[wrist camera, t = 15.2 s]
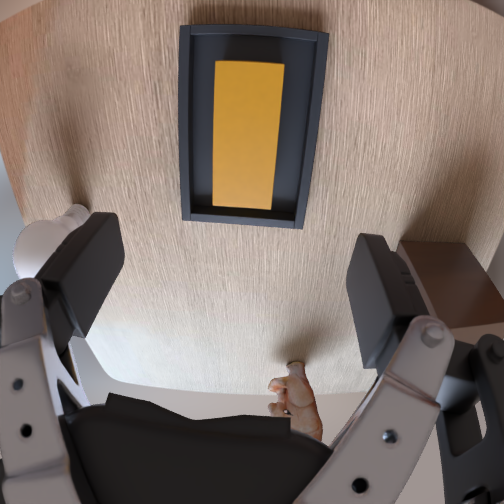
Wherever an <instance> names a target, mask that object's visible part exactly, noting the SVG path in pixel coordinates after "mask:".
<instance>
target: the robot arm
mask: <svg viewBox="0 0 504 504" xmlns="http://www.w3.org/2000/svg"><path fill="white" fill-rule="evenodd" d="M124 258H125V252H124V246H123V241H122V236H121V231H120V226H119V221H118V217H117V215H116V214H115V213H110V212H94V213H93V214H92V215H91V216H90V217H89V218H88V219H87V220H86V222H85V223H84V224H83V225H81V226H79V227H78V228H76V229H75V230H73V231H72V232H70V233H69V234H68V235H67V237H66V238H65V239H64V240H63V241H62V244H60V245H59V246H58V247H57V249H56V250H55V252H53V253H52V255H51V256H50V257H49V258H48V260H47V261H46V262H45V264H44V265H43V266H42V267H41V269H40V270H39V271H38V273H37V274H36V275H35V277H34V278H31V277H29V278H23V279H20V280H18V281H16V282H14V283H13V284H11V285H10V286H9V287H8V288H7V289H6V291H5V292H4V294H3V295H0V451H1V455H2V459H0V504H394V503H395V502H396V500H397V498H398V497H399V495H400V493H401V492H402V490H403V488H404V486H405V485H406V483H407V481H408V479H409V477H410V475H411V474H412V472H413V470H414V468H415V466H416V464H417V462H418V460H419V458H420V456H421V454H422V451H423V449H424V447H425V445H426V443H427V441H428V439H429V436H430V434H431V432H432V430H433V427H434V425H435V424H436V430H437V436H438V442H439V449H440V456H441V464H442V473H443V483H444V495H445V504H504V340H502V339H501V338H500V337H498V336H496V335H493V334H485V335H483V336H481V338H480V339H479V340H478V341H477V343H476V344H475V345H473V344H470V343H466V342H462V341H459V340H455V339H454V336H453V333H452V331H451V330H450V328H449V327H448V326H447V325H446V324H445V323H444V322H443V321H441V320H440V319H438V318H436V317H433V316H430V314H429V312H428V309H427V307H426V305H425V302H424V300H423V298H422V296H421V293H420V291H419V289H418V287H417V285H415V280H414V278H413V276H412V275H411V272H410V270H409V268H408V266H407V264H406V262H405V261H404V260H403V259H402V258H401V257H400V256H399V255H398V254H397V253H396V252H393V251H390V249H389V247H388V245H387V243H386V240H385V238H384V237H383V236H382V235H375V234H366V233H360V234H359V236H358V238H357V241H356V244H355V248H354V251H353V254H352V258H351V261H350V264H349V268H348V271H347V277H346V288H347V292H348V297H349V301H350V305H351V310H352V314H353V318H354V323H355V328H356V332H357V337H358V342H359V347H360V352H361V357H362V362H363V368H364V369H372V368H376V369H377V374H378V376H377V377H376V379H375V380H374V382H373V383H372V385H371V387H370V388H369V390H368V391H367V393H366V395H365V396H364V398H363V399H362V401H361V403H360V404H359V405H358V407H357V409H356V410H355V411H354V413H353V414H352V416H351V417H350V419H349V420H348V422H347V423H346V424H345V426H344V427H343V428H342V430H341V431H340V432H339V434H338V435H337V436H336V437H335V439H334V440H333V441H332V443H331V444H330V445H329V446H327V445H325V444H324V443H322V442H321V441H319V440H318V439H316V438H314V437H312V436H310V435H308V434H305V433H303V432H300V431H298V430H294V429H291V417H271V416H255V415H238V416H230V417H222V418H214V419H203V420H192V419H189V418H186V417H184V416H181V415H179V414H177V413H174V412H172V411H170V410H167V409H165V408H162V407H160V406H158V405H156V404H154V403H152V402H150V401H145V400H140V399H135V398H131V397H126V396H122V395H118V394H113V393H109V394H108V397H107V400H106V403H105V404H95V405H91V404H90V402H89V400H88V398H87V396H86V394H85V392H84V389H83V386H82V382H81V379H80V376H79V372H78V369H77V365H76V361H75V358H74V354H73V350H72V346H71V344H70V342H69V341H70V338H71V337H72V335H73V336H77V337H82V338H86V336H87V334H88V332H89V330H90V328H91V326H92V324H93V322H94V320H95V318H96V316H97V314H98V312H99V310H100V308H101V306H102V304H103V302H104V300H105V298H106V296H107V295H108V293H109V291H110V289H111V287H112V285H113V283H114V282H115V280H116V278H117V276H118V274H119V273H120V271H121V269H122V267H123V264H124ZM479 401H481V404H482V408H483V412H484V416H485V420H486V425H487V430H486V434H485V437H484V438H483V439H482V434H481V430H480V425H479V420H478V417H477V412H476V408H475V404H476V403H478V402H479Z"/></svg>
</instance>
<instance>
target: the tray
mask: <svg viewBox="0 0 504 504" xmlns="http://www.w3.org/2000/svg"><path fill="white" fill-rule="evenodd" d="M328 41H329V33H324V32H317V31H311V30H304V29H296V28H286V27H276V26H262V25H241V24H202V25H181V26H180V36H179V70H178V130H179V167H180V190H181V208H182V220H184V221H199V222H213V223H227V224H241V225H253V226H266V227H278V228H290V229H303V225H304V219H305V213H306V207H307V201H308V195H309V188H310V182H311V176H312V169H313V162H314V156H315V149H316V142H317V134H318V127H319V120H320V112H321V104H322V96H323V88H324V79H325V70H326V61H327V51H328ZM217 60H242V61H261V62H274V63H282V64H284V65H285V66H284V78H283V89H282V101H281V112H280V123H279V133H278V144H277V155H276V165H275V175H274V185H273V195H272V205H271V210H269V209H256V208H243V207H228V206H213V117H214V83H215V61H217Z"/></svg>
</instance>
